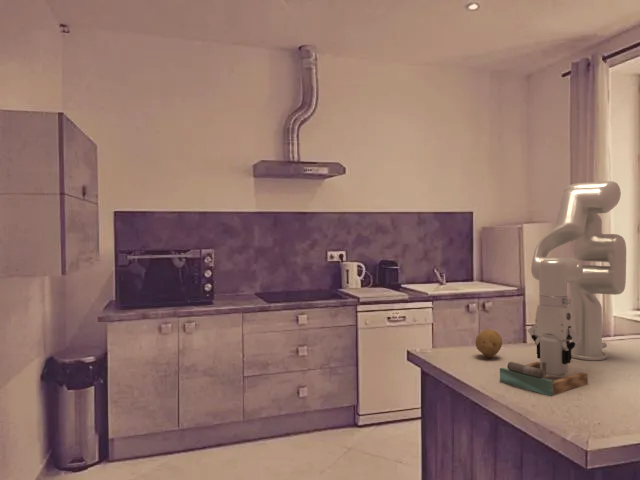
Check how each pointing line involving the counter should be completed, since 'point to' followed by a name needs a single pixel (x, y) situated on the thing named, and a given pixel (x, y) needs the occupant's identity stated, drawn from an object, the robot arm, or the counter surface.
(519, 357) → the counter surface
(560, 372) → the can
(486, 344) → the natural sponge
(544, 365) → the bay
